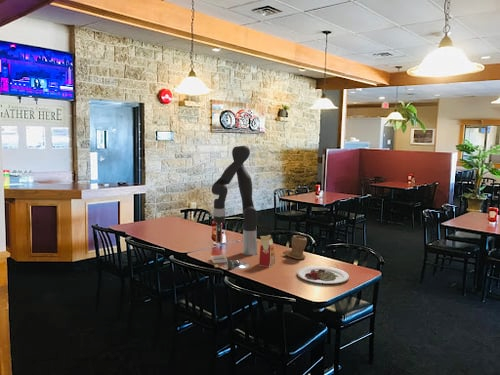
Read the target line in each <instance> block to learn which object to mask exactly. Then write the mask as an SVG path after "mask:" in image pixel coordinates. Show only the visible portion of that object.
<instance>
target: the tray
mask: <svg viewBox="0 0 500 375" xmlns="http://www.w3.org/2000/svg"><path fill="white" fill-rule="evenodd" d="M210 261H211V262H212V263H213V264H218V263H219V264H220V263H228V258H227V257H226V255H225V254H223V255H222V254H221V255H211V256H210Z"/></svg>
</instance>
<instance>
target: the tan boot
mask: <svg viewBox="0 0 500 375" xmlns="http://www.w3.org/2000/svg"><path fill="white" fill-rule="evenodd" d="M291 237H292V238H291V249H290V250H284V251H283V252H282V254H283V255H284V256H288V257H290V258H292V259H296V260H304V259H305V258H306V256H305V254H304V250H305V248H306V246H307V244H308V243H307V242H308V239H307V238H306V237H305V236H302V235H299V234H298V235H297V234H296V235H295V234H294V235H293V236H291Z"/></svg>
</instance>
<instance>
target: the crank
mask: <svg viewBox="0 0 500 375" xmlns="http://www.w3.org/2000/svg"><path fill="white" fill-rule="evenodd" d="M232 262H233V265H232ZM240 262H241V261H240V260H233V259H229V260H228V259H227V263H228V268H227V270H228V271H232V270H234V269H233V268H234V267H236V266H240Z"/></svg>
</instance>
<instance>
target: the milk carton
mask: <svg viewBox="0 0 500 375" xmlns="http://www.w3.org/2000/svg"><path fill="white" fill-rule="evenodd" d="M259 237H260V246H259V258H258V266H262V267H268V269H271V267H273V265H274V266H275V265H276V264H277V262H276V254H275V246H274V240H273V237H272V235H271V234H268V235H260V236H259Z"/></svg>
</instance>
